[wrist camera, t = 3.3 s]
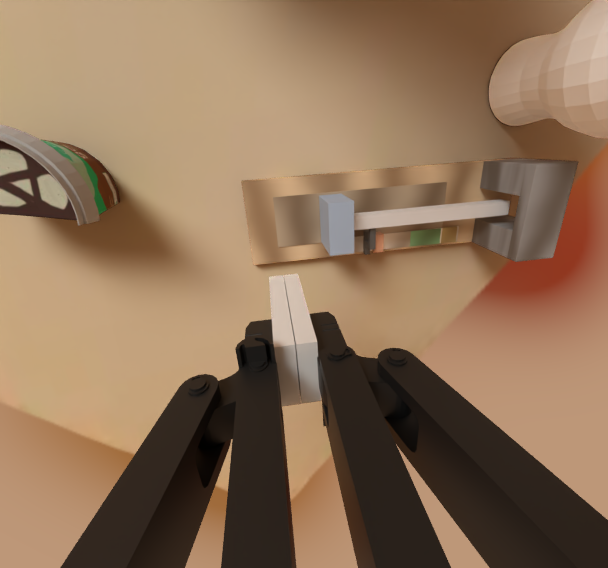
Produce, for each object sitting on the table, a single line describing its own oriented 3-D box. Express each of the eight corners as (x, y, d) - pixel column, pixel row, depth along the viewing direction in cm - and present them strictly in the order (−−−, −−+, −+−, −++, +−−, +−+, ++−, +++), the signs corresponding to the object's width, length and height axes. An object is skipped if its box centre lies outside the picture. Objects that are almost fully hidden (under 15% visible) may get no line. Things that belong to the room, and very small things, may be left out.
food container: (131, 138, 30) (75, 135, 21) (135, 203, 33) (87, 226, 24) (-18, 118, 28) (-150, 105, 19) (-2, 189, 31) (-113, 207, 21)
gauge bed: (253, 262, 37) (251, 291, 29) (241, 180, 33) (236, 191, 25) (497, 236, 39) (553, 257, 32) (511, 157, 35) (578, 161, 28)
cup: (545, 148, 36) (722, 149, 22) (460, 131, 34) (595, 122, 20) (591, 33, 32) (844, -53, 18) (498, 7, 30) (700, -111, 16)
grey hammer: (321, 256, 36) (330, 272, 31) (318, 195, 33) (328, 203, 29) (483, 238, 38) (513, 251, 33) (492, 180, 35) (527, 185, 30)
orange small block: (371, 249, 36) (374, 252, 35) (371, 232, 35) (374, 235, 34) (379, 248, 36) (383, 251, 35) (380, 231, 36) (383, 234, 34)
